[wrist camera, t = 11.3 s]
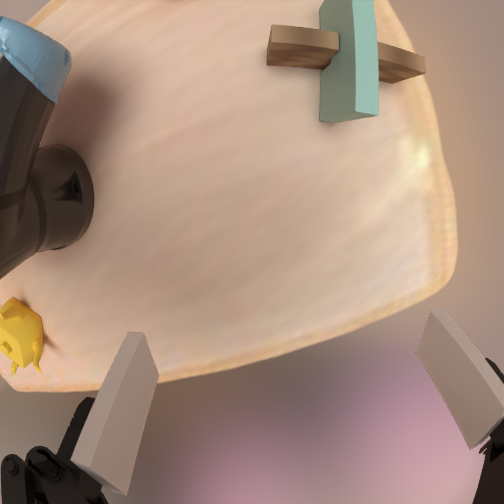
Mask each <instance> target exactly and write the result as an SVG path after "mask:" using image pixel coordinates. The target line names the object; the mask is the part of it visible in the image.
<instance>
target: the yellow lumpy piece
mask: <svg viewBox="0 0 504 504" xmlns="http://www.w3.org/2000/svg"><path fill="white" fill-rule="evenodd" d="M0 350H1V351H2V352H3V353H4V354H5V355H6V356H8V357H9V358H10V359H11V360H13V363H12V367H11V371H12V374H13V375H15V373H16V369H17V367H18V366H21V367H22V368H25V367H26V366H27V365H29V364H30V363H31V362H32V361H33V366H34V368H35V369H36V370H37V371H39V372H40V373H42V371H41V370H40V368H39V361H40V358H41V356H42V352H43V328H42V321H41V317H40V316H39V315H38V314H37V313H35V312H34V311H33V310H31V309H30V308H28V307H27V306H26V305H24V304H23V303H21V302H20V301H19V300H17V299H16V298H12V299H10V300H8V301H7V302H6V303H5V304H4V305H3V306H2V308H1V309H0Z"/></svg>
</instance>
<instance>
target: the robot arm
mask: <svg viewBox="0 0 504 504" xmlns="http://www.w3.org/2000/svg"><path fill="white" fill-rule="evenodd" d="M71 65H72V58H71V54H70V52H69V51H68V50H67V49H66V48H65V47H64V46H63V45H61V44H60V43H58V42H57V41H55V40H53V39H52V38H50V37H48V36H46V35H45V34H43V33H41V32H39V31H37V30H35V29H33V28H31V27H29V26H27V25H25V24H22V23H20V22H18V21H15V20H12V19H10V18H6V17H3V16H0V279H1V278H3V277H4V276H5V275H7V274H8V273H9V272H10V271H12V270H13V269H14V268H16V267H17V266H18V265H20V264H21V263H22V262H24V261H25V260H26V259H28V258H29V257H31V256H32V255H34V254H35V253H36V252H42V251H46V250H58V249H62V248H65V247H67V246H69V245H70V244H72V243H73V242H75V241H76V240H78V239H79V238H80V237H81V236H82V235H83V234H84V232H85V231H86V229H87V227H88V225H89V223H90V220H91V217H92V212H93V205H94V195H93V186H92V182H91V178H90V175H89V172H88V170H87V168H86V166H85V164H84V162H83V161H82V159H81V158H80V157H79V156H78V155H77V154H76V153H75V152H74V151H73V150H71V149H70V148H68V147H65V146H62V145H50V146H44V147H41V148H39V145H40V142H41V139H42V136H43V133H44V130H45V128H46V125H47V123H48V120H49V118H50V115H51V113H52V111H53V109H54V106H55V104H57V103H58V101H59V99H58V97H59V94H60V92H61V89H62V87H63V85H64V82H65V80H66V78H67V76H68V73H69V71H70V69H71ZM416 355H417V356H418V358H419V360H420V361H421V363H422V364H423V366H424V368H425V369H426V371H427V372H428V374H429V375H430V377H431V379H432V381H433V382H434V384H435V386H436V388H437V389H438V391H439V393H440V394H441V396H442V398H443V400H444V401H445V403H446V405H447V407H448V408H449V410H450V412H451V414H452V416H453V418H454V419H455V422H456V423H457V425H458V427H459V429H460V431H461V433H462V435H463V437H464V439H465V441H466V443H467V445H468V447H469V449H470V450H471V449H473V448H474V447H476V446H478V445H479V444H481V443H482V442H483V441H484V440H485V439H486V438H487V437H488V436H489V435H490V437H491V439H490V440H489V441H488V442H487V443H486V444H485V445H484V446H483V447H482V448H481V449H480V451H479V453H482V452H483V451H484V450H485V449H486V448H487V449H486V450H485V451H484V453H483V454H485V460H484V465H483V469H482V473H481V477H480V480H479V484H478V488H477V491H476V494H475V498H474V500H473V504H504V375H503V374H502V373H501V372H500V370H499V368H498V367H497V366H496V364H495V363H494V362H492V361H491V360H489V359H488V358H485V359H484V357H483V356H482V355H481V354H480V352H479V351H478V350H477V349H476V347H475V346H474V345H473V344H472V342H470V340H469V339H468V338H467V337H466V335H465V334H464V333H463V332H462V331H461V330H460V328H459V327H458V326H457V325H456V324H455V322H453V320H452V319H451V318H450V317H449V316H448V315H447V314H446V313H445V312H444V310H443V309H437V310H432V311H430V314H429V317H428V320H427V323H426V326H425V329H424V332H423V335H422V338H421V340H420V343H419V345H418V348H417V350H416ZM158 377H159V373H158V371H157V368H156V366H155V363H154V360H153V358H152V355H151V352H150V350H149V347H148V344H147V341H146V338H145V335H144V333H140V332H128V333H127V335H126V337H125V339H124V341H123V343H122V345H121V347H120V349H119V351H118V353H117V355H116V357H115V359H114V361H113V363H112V365H111V367H110V369H109V371H108V373H107V375H106V377H105V380H104V382H103V384H102V386H101V388H100V390H99V393H98V395H97V397H96V399H95V398H91V397H86V398H85V399H84V400H83V401H82V402H81V403H80V404H79V405H78V407H77V409H76V411H75V413H74V418H72V420H71V422H70V426H69V427H68V429H67V431H66V434H65V436H64V438H63V440H62V443H61V445H60V448H59V450H58V452H57V454H56V455H55V454H53V452H51V451H50V450H49V449H48V448H47V447H43V446H36V447H34V448H32V449H31V450H30V451H29V452H28V453H27V456H26V459H25V461H23V460H22V459H21V458H20V457H18V456H17V455H15V454H10V455H7V456H6V457H5V458H4V459H3V461H2V464H1V493H2V494H1V495H2V504H108V502H107V500H106V498H105V497H104V494H103V493H102V492H101V488H102V486H104V487H105V488H106V489H108V490H110V491H113V492H117V493H120V494H124V495H127V493H128V488H129V483H130V479H131V476H132V471H133V467H134V463H135V459H136V455H137V451H138V448H139V444H140V440H141V436H142V433H143V429H144V425H145V422H146V418H147V414H148V411H149V408H150V404H151V401H152V397H153V394H154V390H155V387H156V384H157V381H158Z"/></svg>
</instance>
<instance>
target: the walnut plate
mask: <svg viewBox="0 0 504 504" xmlns="http://www.w3.org/2000/svg"><path fill="white" fill-rule="evenodd" d="M377 48H378V72H379V80H380V81H384V82H388V83H391V84H393V83H396V82H399V81H402V80H405V79H408V78H412V77H415V76H418V75H422V74H425V73H426V70H425V58H424V57H422V56H420V55H417V54H415V53H412V52H409V51H406V50H403V49H400V48H397V47H394V46H390V45H387V44H384V43H380V42H377ZM337 51H339V36H338V33H337V32H331V31H325V30H319V29H312V28H304V27H295V26H283V25H272V26H271V32H270V37H269V43H268V48H267V65H279V66H293V67H304V68H313V69H320V70H324V69H325V68H326V67H327V66H329V65H330V64H331V57H332V56H333V55H334V54H335V53H336V52H337Z"/></svg>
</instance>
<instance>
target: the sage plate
mask: <svg viewBox="0 0 504 504" xmlns="http://www.w3.org/2000/svg"><path fill="white" fill-rule="evenodd" d="M319 13H320V30H325V31H331V32H337V33H338V36H339V51H337V52H336V53H335V54H334V55H333V56H332V57H331V64H330V65H329V66H327V67H326V68H325V69H324V70H323V71H322V72H321V73H320V111H319V121H323V122H330V123H339V122H344V121H349V120H355V119H361V118H367V117H373V116H378V107H379V72H378V48H377V33H376V22H375V12H374V4H373V0H324V2H323V4H322V6H321V7H320V9H319Z"/></svg>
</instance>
